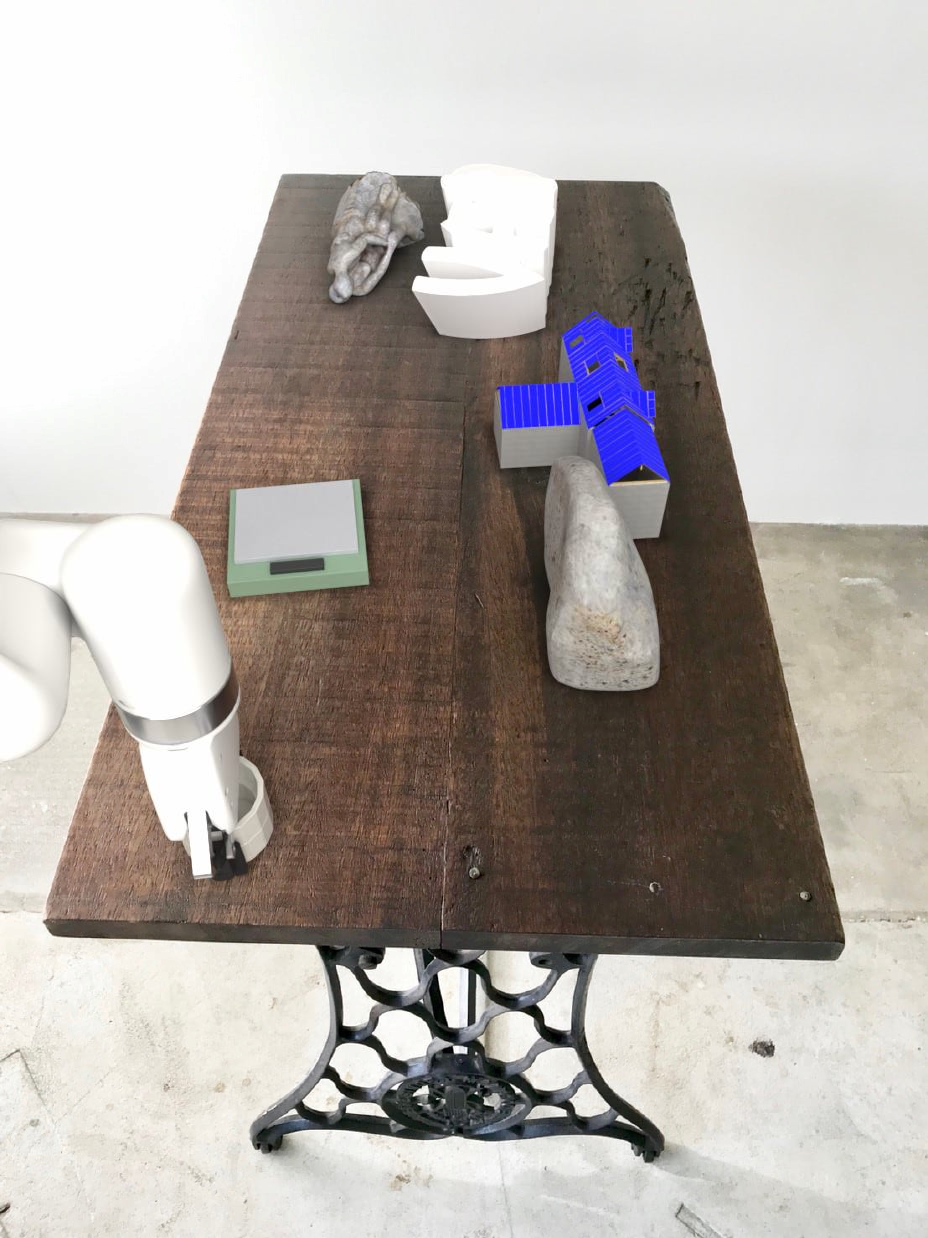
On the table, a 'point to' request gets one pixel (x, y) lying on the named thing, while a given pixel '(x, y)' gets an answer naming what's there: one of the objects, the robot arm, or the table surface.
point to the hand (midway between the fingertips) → (227, 825)
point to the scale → (296, 538)
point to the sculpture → (370, 233)
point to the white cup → (248, 813)
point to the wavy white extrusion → (491, 254)
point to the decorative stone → (595, 587)
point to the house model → (591, 422)
